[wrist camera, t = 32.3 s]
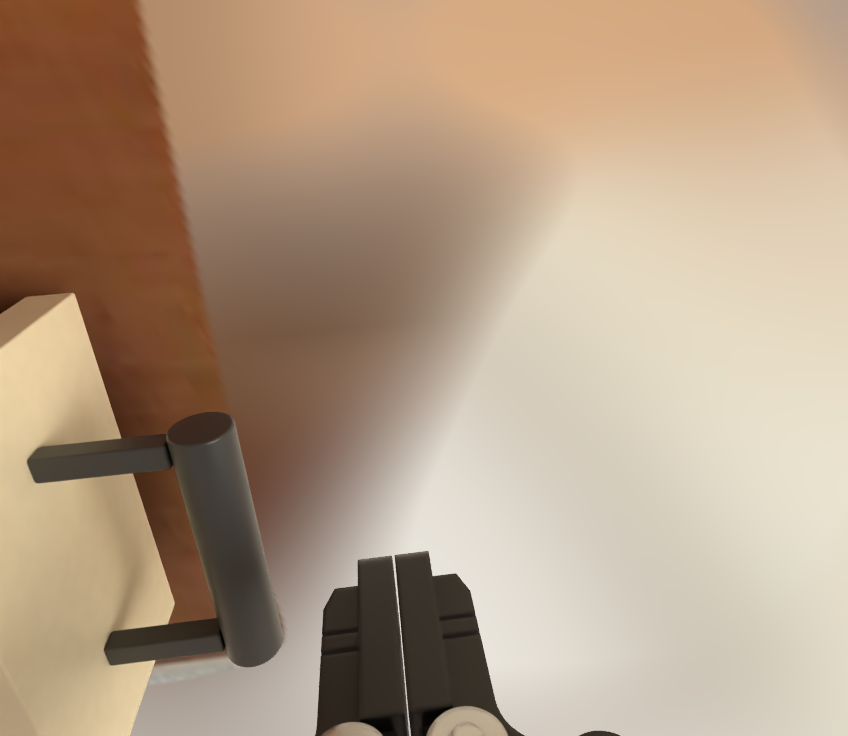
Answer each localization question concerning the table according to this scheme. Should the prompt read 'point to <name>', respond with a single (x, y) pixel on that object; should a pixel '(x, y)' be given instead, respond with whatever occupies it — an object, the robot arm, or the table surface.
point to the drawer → (107, 538)
